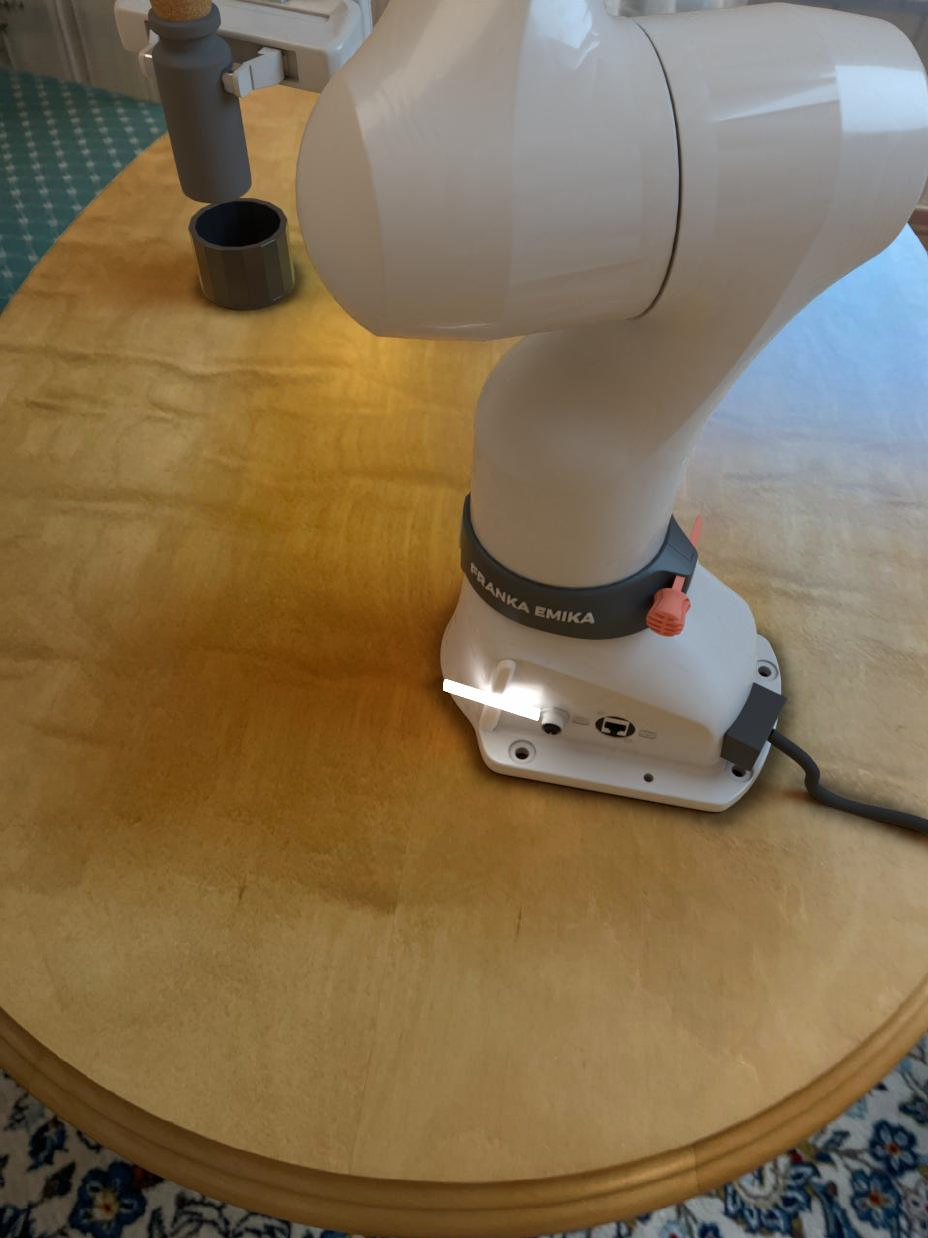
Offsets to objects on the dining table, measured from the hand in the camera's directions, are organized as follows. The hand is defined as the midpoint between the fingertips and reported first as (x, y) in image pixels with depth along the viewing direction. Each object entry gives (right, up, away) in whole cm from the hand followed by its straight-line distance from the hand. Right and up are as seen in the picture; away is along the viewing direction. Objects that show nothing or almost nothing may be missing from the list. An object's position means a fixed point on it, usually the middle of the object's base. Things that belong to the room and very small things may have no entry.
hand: (189, 76), depth 73 cm
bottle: (0, -5, +8) cm, 9 cm away
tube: (0, -9, +18) cm, 20 cm away
